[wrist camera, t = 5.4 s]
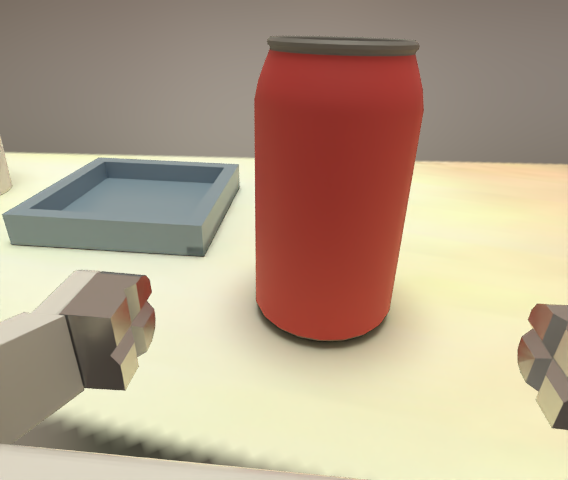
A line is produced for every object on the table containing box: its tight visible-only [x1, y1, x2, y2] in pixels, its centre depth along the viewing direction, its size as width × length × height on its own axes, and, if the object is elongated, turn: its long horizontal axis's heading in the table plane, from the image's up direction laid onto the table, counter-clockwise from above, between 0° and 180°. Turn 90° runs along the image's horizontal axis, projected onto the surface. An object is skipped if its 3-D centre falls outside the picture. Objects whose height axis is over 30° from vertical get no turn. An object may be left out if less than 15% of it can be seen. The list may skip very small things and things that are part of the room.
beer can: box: [255, 36, 424, 341], centre depth 18 cm, size 7×7×12 cm
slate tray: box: [2, 158, 239, 256], centre depth 30 cm, size 12×12×2 cm
